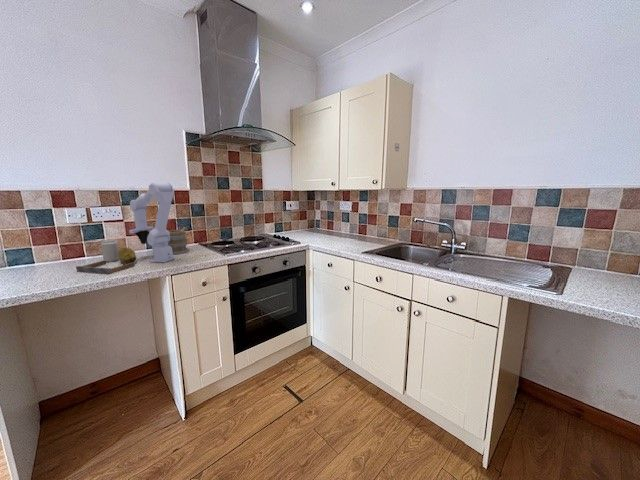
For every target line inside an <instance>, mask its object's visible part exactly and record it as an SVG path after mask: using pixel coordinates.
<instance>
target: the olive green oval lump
mask: <svg viewBox="0 0 640 480" xmlns="http://www.w3.org/2000/svg"><path fill="white" fill-rule="evenodd" d="M118 257H119V260H120V262H121V263H122V264H123V265H125V264H129V263H132V262H134V263H135V262H136V261H137V256H136V252H135V251H134V250H133V249H132V248H130V247H122V248H120V249H119V252H118Z"/></svg>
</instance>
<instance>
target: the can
mask: <svg viewBox="0 0 640 480" xmlns="http://www.w3.org/2000/svg"><path fill="white" fill-rule="evenodd" d="M100 247H101V253H102V255H101V256H102V259H103V260H102V261H106V263H114V262H117V261H119V260H120V259H119V257H118V252H119V250H120V249H119V243H118V241H117V240H116V239H113V238H112V239H111V238H110V239H106V240H105V239H104V240H102V241H101V243H100Z"/></svg>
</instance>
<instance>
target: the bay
mask: <svg viewBox="0 0 640 480" xmlns="http://www.w3.org/2000/svg"><path fill="white" fill-rule="evenodd" d="M106 264H107V262H106V261H104V260H100V261H97V262H92V263H88V264H85V265H78V266H75V269H76V272H77V273H78V272H79V273H91V274H92V273H93V274H103V275H104V274H105V275H112V274H115V273H118V272H120V270H121V271H123V270H127V269H130V267H131V268H133V267H135V266H136V265H135V262H132V263H129V264H122V265H119V266H115V267H112V268H111V267H109V268H108V267H100V266H106ZM117 271H118V272H117ZM114 272H115V273H114Z"/></svg>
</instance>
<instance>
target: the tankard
mask: <svg viewBox="0 0 640 480" xmlns="http://www.w3.org/2000/svg"><path fill="white" fill-rule="evenodd" d="M188 229H189V228H188V227H186V226H184V227H182V228H181V229H172V230H168V231H169V233H170V241H169V242H168V244H167V245H168V246H171V247H172V251H173V256H176V255H183V254H186V253H189V249H188V248H187V245H188V242H187V241H188V239H187V236H186V231H188Z"/></svg>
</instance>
